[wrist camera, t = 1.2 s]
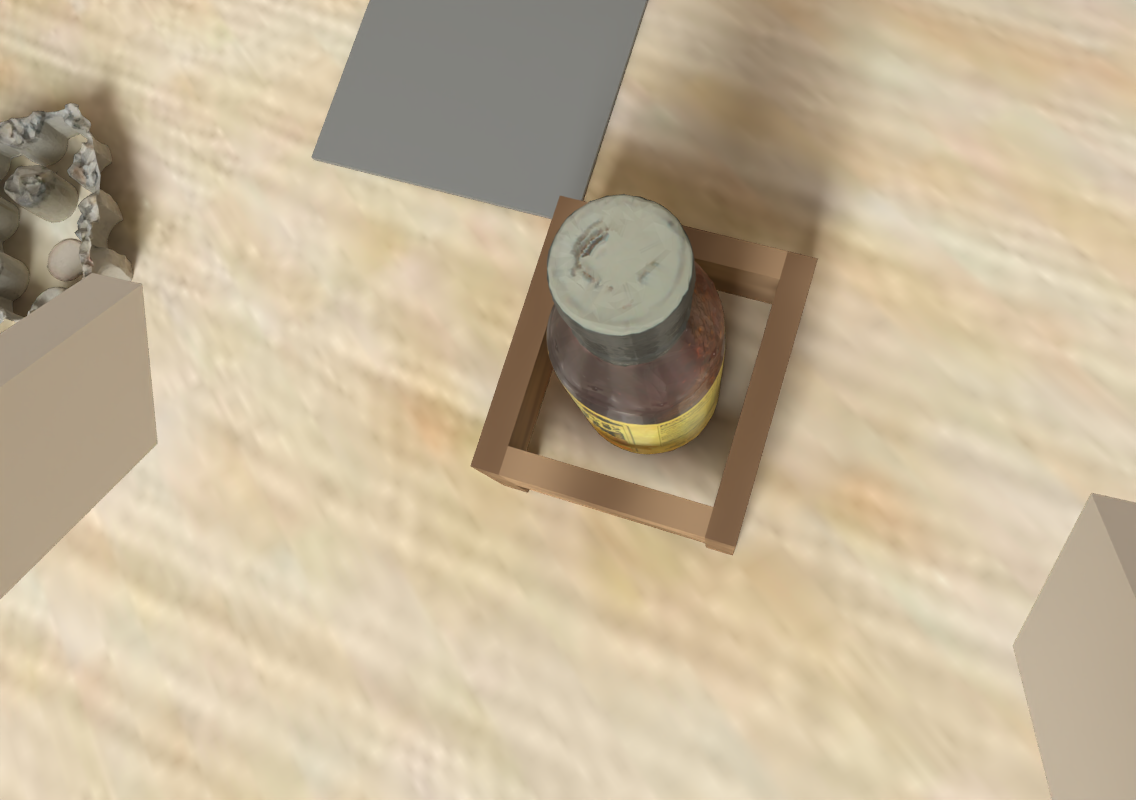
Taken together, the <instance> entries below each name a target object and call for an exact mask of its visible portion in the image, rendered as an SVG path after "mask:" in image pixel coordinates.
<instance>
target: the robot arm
mask: <svg viewBox="0 0 1136 800" xmlns="http://www.w3.org/2000/svg"><path fill="white" fill-rule="evenodd" d="M157 443H158V442H157V432H156V422H155V411H154V401H153V391H152V380H151V370H150V360H149V349H148V339H147V329H146V318H145V308H144V298H143V287H142V284H140V283H136V282H131V281H127V280H122V279H118V278H113V277H108V276H104V275H99V274H95V273H91V274H90V275H88V276H86V277H85V278H83V279H82V280H80V281H79V282H77V283H76V284H74V285H73V286H71V287H70V288H68V289H67V290H65V291H64V292H62V293H61V294H59V295H58V296H56V297H55V298H53V299H52V300H50V301H49V302H47V303H46V304H44V305H43V306H41V307H39V308H38V309H36V310H35V311H33V312H32V313H30V314H29V315H27V316H26V317H24V318H23V319H21V320H20V321H18V322H17V323H15V324H14V325H12V326H11V327H9V328H8V329H6V330H5V331H3V332H2V333H0V599H1V598H2V597H3V596H4V595H5V594H6V593H7V592H8V591H9V590H10V589H11V588H12V587H13V586H14V585H15V584H16V583H17V582H18V581H19V580H20V579H21V578H22V577H23V576H24V575H25V574H26V573H27V572H28V571H29V570H30V569H31V568H32V567H33V566H35V565H36V564H37V563H38V562H39V561H40V560H41V559H42V558H43V557H44V556H45V555H46V554H47V553H48V552H49V551H50V550H51V549H52V548H53V547H54V546H55V545H56V544H57V543H58V542H59V541H60V540H61V539H62V538H63V537H64V536H65V535H66V534H67V533H68V532H69V531H70V530H71V529H72V528H73V527H74V526H75V525H76V524H77V523H78V522H79V521H80V520H81V519H82V518H83V517H84V516H85V515H86V514H87V513H88V512H89V511H90V510H91V509H92V508H93V507H94V506H95V505H96V504H97V503H98V502H99V501H100V500H101V499H102V498H103V497H104V496H105V495H106V494H107V493H108V492H109V491H110V490H111V489H112V488H113V487H114V486H115V485H116V484H117V483H118V482H119V481H120V480H121V479H122V478H123V477H124V476H125V475H126V474H127V473H128V472H129V471H130V470H131V469H132V468H133V467H134V466H135V465H136V464H137V463H138V462H139V461H140V460H141V459H142V458H143V457H144V456H145V455H146V454H147V453H148V452H149V451H150V450H151V449H152V448H153V447H154V446H155V445H156V444H157ZM1013 648H1014V652H1015V656H1016V660H1017V664H1018V668H1019V672H1020V676H1021V680H1022V684H1023V688H1024V692H1025V696H1026V700H1027V704H1028V708H1029V712H1030V716H1031V720H1032V724H1033V728H1034V732H1035V736H1036V740H1037V744H1038V747H1039V751H1040V755H1041V759H1042V763H1043V767H1044V771H1045V775H1046V779H1047V783H1048V787H1049V791H1050V795H1051V799H1052V800H1136V503H1135V502H1130V501H1126V500H1121V499H1117V498H1112V497H1108V496H1103V495H1099V494H1094V493H1091V494H1090V496H1089V498H1088V500H1087V502H1086V504H1085V506H1084V508H1083V510H1082V512H1081V514H1080V515H1079V517H1078V519H1077V521H1076V523H1075V525H1074V527H1073V529H1072V531H1071V533H1070V535H1069V537H1068V539H1067V541H1066V543H1065V545H1064V547H1063V549H1062V551H1061V552H1060V554H1059V556H1058V558H1057V560H1056V562H1055V564H1054V566H1053V568H1052V570H1051V572H1050V574H1049V576H1048V578H1047V580H1046V582H1045V584H1044V586H1043V588H1042V589H1041V591H1040V593H1039V595H1038V597H1037V599H1036V601H1035V603H1034V605H1033V607H1032V609H1031V611H1030V613H1029V615H1028V617H1027V619H1026V621H1025V623H1024V625H1023V626H1022V628H1021V630H1020V632H1019V634H1018V636H1017V638H1016V640H1015V642H1014V644H1013Z"/></svg>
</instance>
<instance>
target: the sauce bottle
mask: <svg viewBox="0 0 1136 800" xmlns="http://www.w3.org/2000/svg"><path fill="white" fill-rule="evenodd" d="M547 282H548V286H549V290H550V293H551V295H552V300H553V302H554V305H553V307H552V310H551V312H550V315H549V319H548V324H547V348H548V354H549V358H550V361H551V364H552V366H553V369H554V371H555V373H556V375H557V377H558V378H559V380H560V382H561V383H562V384H563V386H564V387H565V389H566V390H567V392H568V393H569V394H570V396H571V397H572V399H573V400H574V401H575V403H576V404H577V406H578V407H579V408H580V409H581V411H582V412H583V414H584V415H585V416H586V418H587V419H588V421H589V422H590V423H591V425H592V426H593V427H594V428H595V430H596V431H597V432H598V433H599V434H600V435H601V436H602V437H603V438H604V439H606V440H607V441H609V442H610V443H612V444H613V445H615V446H617V447H619V448H621V449H624V450H627V451H630V452H634V453H639V454H657V453H663V452H667V451H672V450H675V449H677V448H679V447H681V446H683V445H685V444H686V443H688V442H690V441H691V440H693V439H694V438H696V437H697V436H698V435H699V434H700V432H701V431H702V430H703V429H704V428H705V426H706V425H707V423H708V422H709V420H710V418H711V417H712V415H713V413H714V410H715V407H716V404H717V401H718V397H719V389H720V382H721V376H722V369H723V362H724V354H725V345H726V344H725V329H724V313H723V308H722V304H721V300H720V299H719V295H718V293H717V290H716V288H715V285H714V282H713V281H712V280H711V279H710V278H709V277H708V275H707V274H706V273H705V272H704V271H703V269H702V268H701V267H700V266H699V265H698V264H697V263H696V262H695V261H694V255H693V249H692V245H691V243H690V240H689V237H688V235H687V234H686V232H685V230H684V228H683V227H682V225H681V223H680V222H679V220H678V219H677V218H676V217H675V216H674V215H673V214H672V213H671V212H670V211H669V210H667V209H666V208H665V207H663V206H662V205H660V204H658V203H656V202H654V201H650V200H647V199H645V198H642V197H638V196H630V195H625V194H622V195H612V196H605V197H603V198H600V199H596V200H593V201H590V202H588V203H587V204H585V205H584V206H582V207H581V208H579V209H577V210H575V211H574V212H573V213H572V214H571V215H569V216H568V217H567V218H566V220H565V221H564V222H563V224H562V225H561V227H560V229H559V230H558V232H557V233H556V235H555V237H554V239H553V242H552V244H551V246H550V248H549V251H548V257H547Z"/></svg>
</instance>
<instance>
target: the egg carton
mask: <svg viewBox="0 0 1136 800" xmlns="http://www.w3.org/2000/svg"><path fill="white" fill-rule="evenodd" d="M78 107H79V106H78V105H77V104H73V103H69V104H66V105H65V109H63V110H60V111H56V112H44V111H33V112H32V114H31V115H30V116H28V117H23V118H11V119H9V120H7V121H4V122H0V181H1V180H2V179H3V178H4V177H5V176H6V175H7V173H8V170H9V168H10V164H11V159H12V158H14V157H18V156H21V155H23V156H25V157H26V158H28V159H29V160H31V161H32V162H35V163H37V164H39V165H34V166H20V167H17V169H16V170H15V172H14V173H13V174H12V175H11V176H10V177H9V178H8V179H7V180H6V181H5V185H4V190H5V193H6V194H7V195H9V196H10V197H11V198H12V199H13V200H14V201H15V202H16V203H17V204H18V205H20V206H22V207H23V208H25V209H27V210H28V211H30V212H32V213H33V214H35V215H37V216H39V217H41V218H42V219H44V220H46V221H49V222H51V223H55V222H61V221H64V220H66V219H67V218H69V217H70V216H71V215H72V214H73V212H74V211H75V209H76V206H77V203H78V193H77V191H76V189H75V187H74V186H73V185H72V184H70V183H69V182H67V181H66V180H64V179H63V178H61V177H60V176H58V175H57V173H54V172H53V171H51V170H49V169H48V168H46V167H44V166H49V165H53V164H55V163H56V162H58V161H59V160H60V159H61V158H62V157H63V156H64V154H65V152H66V150H67V147H68V139H69V138H70V137H73V136H76V135H79V134H81V135H82V136H83V137H85V138H86V139H88V141H87V143H82V147H81V149H80V151H79V152H77V153H76V154H75V155H74V160H73V164H72V165H71V166H70V167H69V168H68V170H67V171H68V174H69V176H70V177H71V178H73V179H75V180H76V181H77V182H78V183H79V184H81V185H82V186H83V187H84V188H86V189H87V190H89V191H90V192H92V194H91V195H89V196H87V197H86V198H85V199H83V200H82V201H81V202H80V204H79V205H78V207H79V209H80V211H81V213H82V215H81V216H80V218H79V220H78V222H77V224H78V230H77V231H76V232H75V234H76V235H77V237H78V238H79V239H80V240H81V241H82V242H80V241H78V240H74V239H67V240H64V241H62V242H60V243H58V244H57V245H55V246H54V248H53V249H52V251H51V252H50V254H49V258H48V266H47V267H48V270H49V272H50V273H51V275H52V276H53V277H55V278H57V279H59V280H61V281H70V280H73V279H75V278H77V277H78V276H79V275H80V274H82V272H83V277H82V279H83V278H85V277H86V276H88V275H90V274H91V273H95V274H99V275H104V276H108V277H113V278H118V279H122V280H127V281H131V280H132V277H133V270H132V266H131V262H130V261H129V260H127V258H126V256H125V255H121V254H118V253H116V252H115V251H114V250H112V249H108V245H107V240H108V237H109V234H110V232H111V230H112V228H113V227H114V226H115V225H116V224H117V223H118V222H120V221H122V220H123V217H122V214H121V212H120V210H119V208H118V204H117V202H115V201H114V200H113V199H112V197H111V196H110V195H109V194H107V193H105V192H104V191H102V190H101V189H100V177H101V175H100V173H101V171H102V170H103V169H104V168H105V167H106V166H107V165H109V164H111V163H112V159H111V152H110V149H109V147H108V146H107V145H105V144H103V143H100V142H99V141H97V140H96V139H95V138H94V137H93V135H92V134H91V132H90V131H89V129H90V127H91V123H90V121H89V120H87V119H86V118H85V117H83V116H82V115H81V112H80V110H79V108H78ZM41 165H42V166H41ZM19 219H20V217H19V211H18V209H17V207H16V206H15V205H14V204H12V203H11V202H9V201H7V200H5V199H3V198H2V197H0V323H2V322H3V321H4V319H9V320H11V321H15V322H18V321H20V320H21V319H23V318H24V317H22V316H19V315H17V314H14V313H13V306H12V301H14V300H15V299H17V298H19V297H20V296H21V295H22V294H23V293H24V292H25V290H26V288H27V286H28V283H29V272H28V269H27V267H26V265H25V264H24V263H22V262H21V261H19V260H17V259H15V258H13V257H11V256H9V255H7V254H5V253H4V249H3V242H4V241H5V240H7V239H8V238H10V237H11V236H12V235H13V234H14V232H15V231H16V229H17V228H18V225H19V221H20V220H19ZM65 290H67V289H65V288H62V287H58V288H57V287H53V288H48V289H47V290H45V291H44V292H43V293H41V294H40V295H39V296H38V297H37V298H36V300H35V302H34V303H33V304H32V307H31V310H29V311H28V315H29V314H30V313H32V312H33V311H35V310H36V309H38V308H39V307H41V306H43V305H44V304H46V303H47V302H49V301H50V300H52V299H53V298H55V297H56V296H58V295H59V294H61V293H62V292H64V291H65Z"/></svg>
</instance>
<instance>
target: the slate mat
mask: <svg viewBox="0 0 1136 800" xmlns="http://www.w3.org/2000/svg"><path fill="white" fill-rule="evenodd" d="M647 2H648V0H370V1H369V4H368V6H367V9H366V12H365V15H364V17H363V20H362V23H361V25H360V28H359V31H358V33H357V36H356V39H355V41H354V44H353V47H352V50H351V52H350V55H349V58H348V60H347V63H346V66H345V68H344V71H343V74H342V76H341V79H340V82H339V84H338V87H337V90H336V93H335V95H334V98H333V101H332V103H331V106H330V109H329V111H328V114H327V117H326V119H325V122H324V125H323V127H322V130H321V133H320V136H319V138H318V141H317V144H316V146H315V149H314V152H313V154H312V158H313V159H314V160H317V161H321V162H325V163H329V164H333V165H337V166H341V167H345V168H349V169H353V170H357V171H361V172H365V173H369V174H373V175H377V176H381V177H385V178H389V179H393V180H397V181H401V182H405V183H409V184H413V185H417V186H421V187H425V188H429V189H433V190H437V191H441V192H445V193H449V194H453V195H457V196H461V197H465V198H469V199H473V200H477V201H481V202H485V203H489V204H493V205H497V206H501V207H505V208H509V209H513V210H517V211H521V212H525V213H529V214H533V215H537V216H541V217H545V218H549V219H552V218H553V215H554V211H555V208H556V205H557V202H558V199H559V196H564V197H568V198H572V199H577V200H581V201H583V199H584V196H585V193H586V190H587V186H588V183H589V180H590V177H591V174H592V171H593V168H594V165H595V162H596V159H597V156H598V153H599V150H600V147H601V143H602V140H603V137H604V134H605V131H606V128H607V125H608V122H609V119H610V116H611V113H612V110H613V107H614V103H615V100H616V97H617V94H618V91H619V88H620V85H621V82H622V79H623V76H624V73H625V70H626V67H627V64H628V60H629V57H630V54H631V51H632V48H633V45H634V42H635V39H636V36H637V33H638V30H639V27H640V24H641V21H642V17H643V14H644V11H645V8H646V5H647Z"/></svg>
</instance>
